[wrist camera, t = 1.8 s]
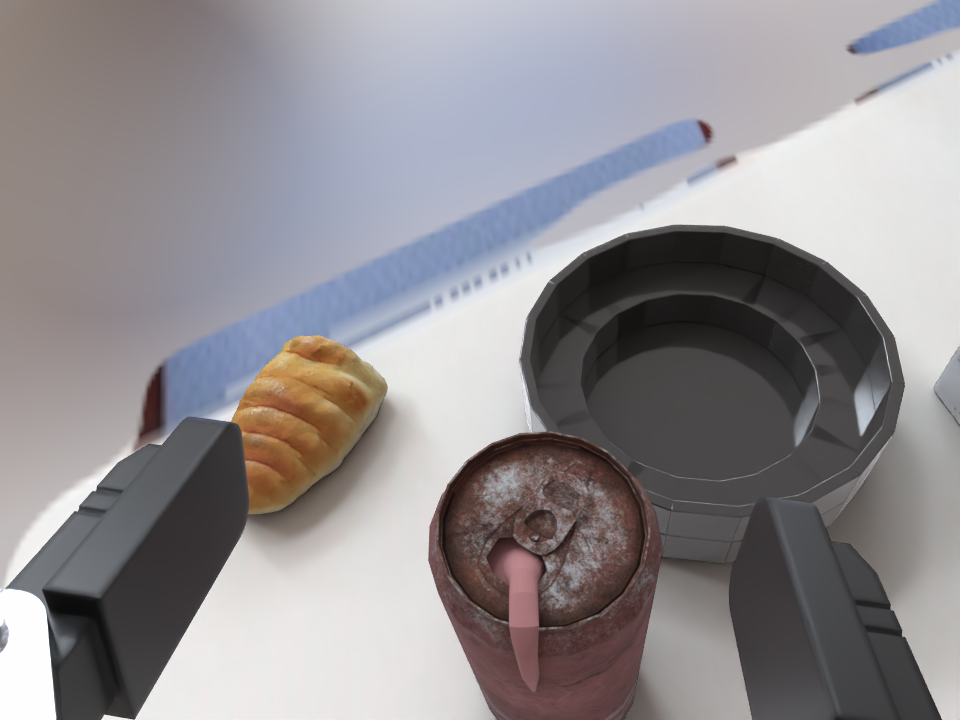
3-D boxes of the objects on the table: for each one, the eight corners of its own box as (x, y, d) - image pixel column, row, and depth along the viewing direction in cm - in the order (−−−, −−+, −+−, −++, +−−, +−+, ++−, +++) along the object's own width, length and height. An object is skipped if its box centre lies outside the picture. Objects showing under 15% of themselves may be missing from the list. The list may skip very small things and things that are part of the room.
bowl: (783, 269, 41) (804, 199, 37) (934, 529, 31) (984, 471, 27) (504, 321, 41) (495, 257, 37) (566, 598, 31) (563, 551, 27)
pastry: (307, 544, 34) (279, 507, 31) (195, 498, 36) (159, 459, 33) (400, 389, 39) (383, 344, 36) (296, 357, 41) (272, 312, 38)
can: (482, 766, 28) (413, 659, 17) (483, 599, 32) (428, 424, 21) (645, 765, 27) (684, 653, 16) (626, 595, 31) (647, 412, 20)
